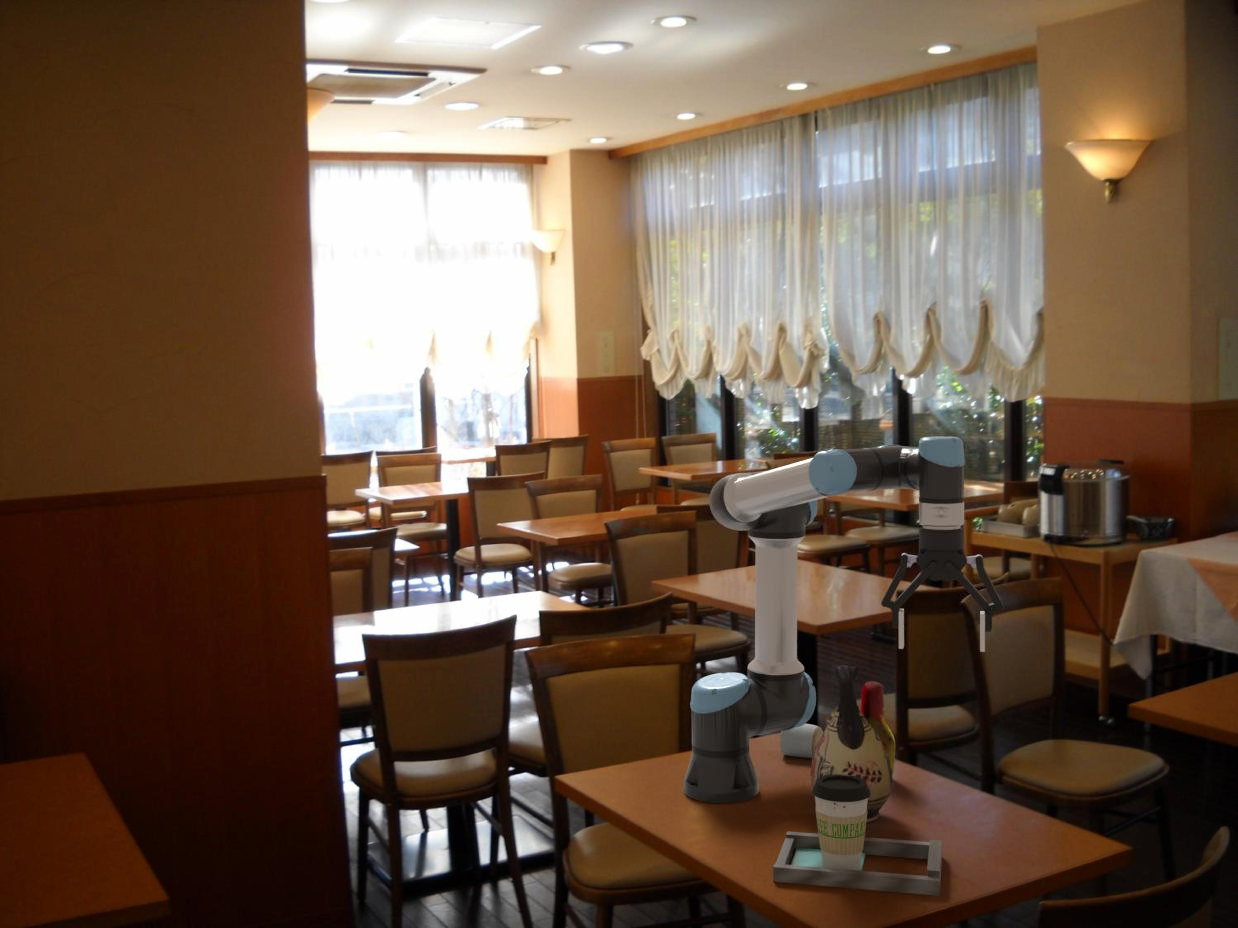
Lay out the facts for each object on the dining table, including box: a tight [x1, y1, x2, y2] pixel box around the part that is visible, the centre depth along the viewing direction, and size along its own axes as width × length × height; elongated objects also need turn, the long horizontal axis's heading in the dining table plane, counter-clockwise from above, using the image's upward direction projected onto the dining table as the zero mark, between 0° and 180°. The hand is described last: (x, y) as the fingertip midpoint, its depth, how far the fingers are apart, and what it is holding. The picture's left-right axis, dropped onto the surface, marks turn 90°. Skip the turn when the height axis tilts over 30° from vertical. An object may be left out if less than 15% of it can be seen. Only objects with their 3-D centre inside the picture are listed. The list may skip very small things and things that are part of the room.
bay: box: [772, 831, 943, 897], centre depth 220 cm, size 27×17×4 cm, turn 75°
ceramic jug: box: [809, 664, 894, 823], centre depth 244 cm, size 17×15×30 cm
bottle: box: [859, 680, 896, 776], centre depth 270 cm, size 12×6×20 cm, turn 36°
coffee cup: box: [811, 774, 871, 871], centre depth 219 cm, size 10×10×15 cm
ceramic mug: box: [779, 723, 824, 759], centre depth 286 cm, size 11×8×8 cm
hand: (941, 648), depth 223 cm, fingers open, 13 cm apart
